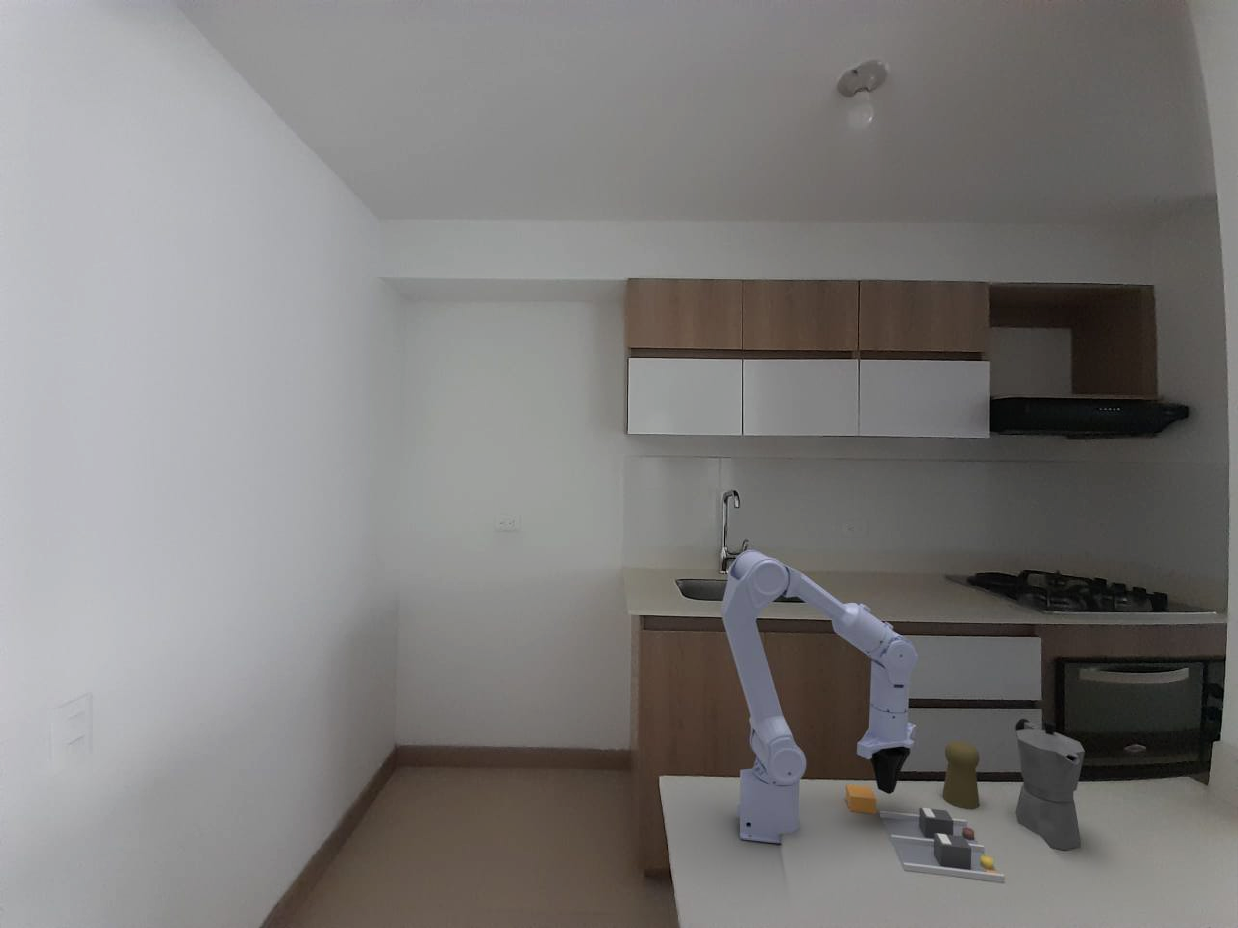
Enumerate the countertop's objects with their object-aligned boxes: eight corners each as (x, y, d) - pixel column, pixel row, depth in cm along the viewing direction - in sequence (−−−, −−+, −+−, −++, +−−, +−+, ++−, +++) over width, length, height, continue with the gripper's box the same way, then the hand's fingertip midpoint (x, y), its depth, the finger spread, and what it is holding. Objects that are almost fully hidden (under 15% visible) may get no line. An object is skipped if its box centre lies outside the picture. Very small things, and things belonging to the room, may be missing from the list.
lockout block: (850, 820, 104) (850, 796, 104) (845, 807, 108) (846, 783, 108) (875, 823, 103) (876, 798, 103) (869, 810, 107) (870, 786, 107)
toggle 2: (940, 865, 90) (941, 843, 90) (933, 853, 93) (934, 831, 93) (970, 869, 89) (971, 847, 89) (962, 856, 92) (963, 835, 92)
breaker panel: (903, 880, 89) (904, 862, 89) (879, 824, 103) (880, 809, 103) (1004, 893, 87) (1004, 874, 87) (965, 834, 101) (966, 818, 101)
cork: (986, 820, 105) (988, 754, 105) (946, 815, 106) (948, 750, 106) (973, 801, 111) (975, 739, 111) (936, 797, 112) (937, 735, 112)
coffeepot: (1106, 861, 95) (1109, 741, 95) (1040, 857, 95) (1044, 738, 95) (1043, 805, 110) (1046, 702, 110) (987, 802, 111) (990, 699, 111)
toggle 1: (925, 837, 97) (925, 816, 97) (918, 826, 100) (919, 806, 100) (952, 840, 96) (953, 819, 96) (946, 829, 99) (946, 809, 99)
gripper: (888, 725, 95) (885, 815, 95) (935, 704, 103) (932, 787, 103) (846, 709, 100) (843, 795, 100) (894, 691, 109) (891, 770, 109)
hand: (885, 790), depth 102 cm, fingers closed
